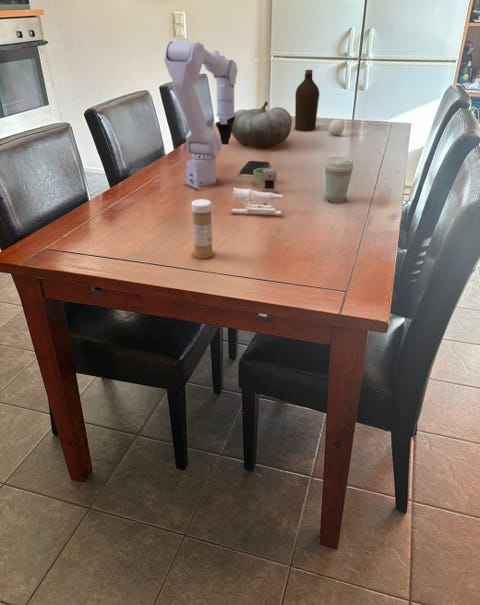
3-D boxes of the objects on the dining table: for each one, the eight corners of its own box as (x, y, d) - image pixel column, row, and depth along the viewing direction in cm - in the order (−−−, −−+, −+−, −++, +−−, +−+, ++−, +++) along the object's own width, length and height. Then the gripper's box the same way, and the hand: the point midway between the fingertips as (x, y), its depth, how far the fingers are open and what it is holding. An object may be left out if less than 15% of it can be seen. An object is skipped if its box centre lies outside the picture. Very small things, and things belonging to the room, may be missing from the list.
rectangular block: (275, 195, 159) (276, 171, 155) (262, 194, 159) (262, 171, 155) (275, 193, 161) (276, 169, 157) (262, 192, 161) (263, 169, 157)
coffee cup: (328, 205, 151) (332, 165, 145) (317, 196, 158) (320, 157, 152) (354, 203, 153) (359, 163, 147) (342, 193, 160) (346, 155, 154)
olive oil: (297, 132, 230) (301, 72, 217) (290, 127, 239) (293, 68, 226) (319, 131, 232) (324, 71, 219) (312, 125, 241) (316, 68, 228)
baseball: (343, 133, 228) (344, 117, 225) (343, 137, 222) (345, 121, 218) (327, 132, 229) (329, 117, 225) (327, 136, 223) (329, 120, 219)
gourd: (290, 147, 197) (285, 100, 190) (228, 155, 203) (221, 109, 196) (295, 138, 219) (291, 96, 212) (239, 146, 225) (233, 104, 218)
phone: (269, 162, 186) (260, 174, 173) (269, 165, 186) (260, 177, 174) (248, 160, 187) (238, 172, 175) (248, 163, 188) (238, 175, 175)
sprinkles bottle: (203, 249, 126) (201, 197, 119) (216, 254, 123) (215, 201, 116) (190, 255, 123) (187, 202, 116) (203, 261, 120) (200, 207, 113)
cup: (262, 189, 164) (263, 175, 162) (249, 184, 168) (249, 170, 166) (277, 184, 168) (277, 171, 165) (263, 180, 172) (263, 166, 170)
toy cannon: (281, 220, 146) (280, 212, 141) (233, 217, 148) (231, 210, 143) (283, 194, 148) (283, 186, 143) (236, 192, 150) (233, 184, 145)
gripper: (235, 103, 161) (236, 147, 169) (239, 95, 174) (239, 136, 181) (213, 103, 162) (215, 146, 169) (218, 95, 174) (219, 135, 181)
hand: (226, 141), depth 175 cm, fingers open, 7 cm apart
